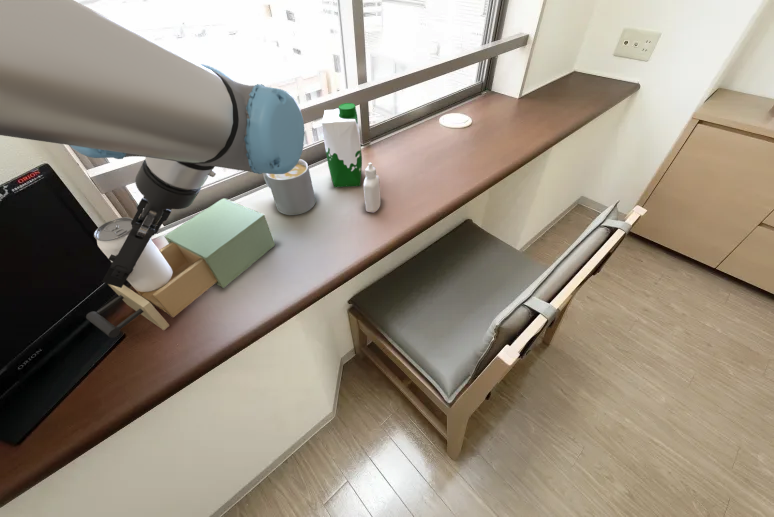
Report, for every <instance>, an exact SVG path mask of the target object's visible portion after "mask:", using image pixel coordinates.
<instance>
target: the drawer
mask: <svg viewBox="0 0 774 517" xmlns="http://www.w3.org/2000/svg"><path fill="white" fill-rule="evenodd" d="M158 250H159V251H160V253H161V254H162V255H163V257H164V258H165V260H166V261H167V263H168V264H169V266H170V267H171V269H172V271H173V274H172V277H171V279H170V281H169V282H168V283H167V284H166V285H164V286H163V287H161V288H160V289H157V290H155V291H151V292H140V291H137V290H136V289H135V288H134V287H133V289H134V290H135V291H136V292H135V291H134V290H132V289H131V288H129V286H126V285H125V284H123V286H122V288H120V287H116V286H113V285H110V284H107V285H108V287H110V288H111V289H112V290H113V292H114V293H115V294H116V295H118V296H116V297H115V298H114V299H112V300H111V301H109V302H108V303H106V304H105V305H103V307H101V308H99V309H98V310H97V311H93V310H92V311H90V312H88V313H87V314H86V316H85V318H86V320H88V321H89V322H90V324H92V325H94V326H95V327H96V328H97V329H99V330H100V331H101V332H102V333H104V334H105V335H106V336H107V337H108V338H111V339H112V338H116V337H118V336H119V335H120V333H121V330H122V329H123V328H124V327H126V326H127V325H128V324H130V323H131V322H133V320H135V319H136V318H138V317H139V316H140V315H141V316H142V317H143V318H145V319H146V320H149V322H151V323H152V324H154V325H155V326H157V327H158V328H160V329H161V330H162V331H165V330H166V329H167V328H169V327H170V324H169V323H168V321H167V320H166V319H165V318H164V317H163V315H161V313H160V312H159V311H158V310H157V309H156V308H158V309H159V310H161V311H163V312H164V313H166V314H168V316H170V317H171V318H175V317H176V316H177V315H179V314H180V313H181V312H182V311H183V310H184V309H186V308H187V307H188V306H190V305H191V304H192V303H193V302H194V301H196V300H197V299H199V298H200V296H202V295H203V294H204V293H205V292H207V291H208V290H209V289H211V287H213V286H214V285H216V284H215V283H216V282H218V281H217V279H216V278H215V276H214V274H213V273H212V271H211V269H210V267H209V266H208V264H207V262H206V261H205V259H203V258H201V257H199V256H197V255H195V254H194V253H192V252H190V251H188V250H186V249H184V248H182V247H180V246H178V245H176V244H175V243H173V242H171V243H167V244H166V245H165V246H163V247H161V248H160V249H158ZM121 301H123V302H124V304H126V305H127V306H128V307H130V308H131V309H133V310H134V311H135V312H133V313H132V314H131V315H129V316H128V317H126V319H124V320H122V321H121V322H120V323H119V324H117V325H114V323H111V322H110V321H109V320H108V319H106V318H105V317H104V316H102V314H104V313H105V312H106V311H108V310H109V309H111V308H113V307H114V306H115V305H117V304H118V303H120V302H121ZM155 307H156V308H155Z"/></svg>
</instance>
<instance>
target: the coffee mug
mask: <svg viewBox="0 0 774 517" xmlns="http://www.w3.org/2000/svg"><path fill="white" fill-rule="evenodd" d="M310 172H311V171H310V168H309V165H308V163H307V161H305V160H304V159H301V158H300V159H299V161H298V163H297V164H296V166H295V167H294V168H293V169H292V170H291V171H289V172H287V173H285V174H269V173H262V175H263V180H264V182H265V185H266V186H267V187H268V188H269V189H270V191H271V195H272V196H273V199H274V203H275V207H276V209H277V211H278V212H279V213H281V214H283V215H286V216H297V215H302V214H305V213H307V212H309V211H310V210H312V209H313V208H314V206H315V205H316V202H317V201H316V200H317V199H316V195H315V191H314V190H315V189H314V187H313V182H312V177H311V173H310Z"/></svg>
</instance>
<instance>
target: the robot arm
mask: <svg viewBox="0 0 774 517" xmlns="http://www.w3.org/2000/svg"><path fill="white" fill-rule="evenodd" d="M305 134H306V133H305V121H304V116H303V114H302V110H301V107H300V106H299V104H298V102H297V101H296V99H295V98H294V97H293V95H291V93H289V92H288V91H287V90H284V89H281V88H277V87H270V86H265V84H259V83H257V84H254V85H248V84H245V83H241V82H237V81H235V80H234V79H232V78H231V77H230V76H228V75H227V74H225V73H224V72H222V71H221V70H219V69H217V68H214V67H213V66H210V65H207V64H204V63H203V64H202V63H198V62H196V61H194V60H192V59H190V58H188V57H186V56H184V55H182V54H180V53H178V52H176V51H174V50H172V49H170V48H168V47H166V46H164V45H162V44H160V43H159V42H156V41H154V40H152V39H151V38H150V37H147V36H145V35H143V34H140V33H139V32H137V31H135V30H133V29H131V28H129V27H127V26H125V25H123V24H121V23H120V22H117V21H115V20H113V19H111V18H109V17H108V16H105V15H103V14H101V13H100V12H97V11H95V10H93V9H92V8H89V7H88V6H86V5H84V4H82V3H80V2H79V1H76V0H0V136H2V137H3V136H4V137H11V138H16V139H25V140H31V141H38V142H44V143H51V144H59V145H66V146H69V147H71V149H73V150H74V151H76V152H77V153H79V154H81V155H83V156H85V157H88V158H92V159H112V158H113V159H115V160H123V159H124V158H129V157H142V158H145V159H144V160H143V162H142V164H141V166H140V168H139V170H138V172H137V174H136V176H135V179H134V181H135V186H136V188H137V190H138V192H139V193H140V194H141V195H142V196H143V197H142V198H141V199H140V201H139V203H138V204H137V206H136V210H137V211H136V213H135V215H134V216H133V218H132V219H133V220H132V222H131V225H132V229H131V231H130V233H129V235H128V237H127V239H126V240H125V242H124V244H123V246H122V248H121V250H120V251H119V253H118V255H116V256H115V255H112V254H111V256H110V257H109V259H108V258H107V259H108V261H110V266H109V268H108V269H107V272H106V273H105V275H104V277H103V279H102V281H101V282H102V283H104V284H107V285H108V284H110V285H113V286H116V287H120V288H122V286H123V285H125V283H126V281H127V278H128V276H129V274H130V273H131V272H132V271H133V268H134V266H135V265H136V262H137V260H138V259H139V257H140V255H141V254H142V252H143V250H144V248H145V247H146V245H147V243H148V242H149V240H150V238H151V239H152V237H153V236H155V235H157V233H159V230H160V228H162V227H161V226H162V225H163V224H164V222H166V221H167V220H168V219H169V217H170V216H171V213H172V210H183V209H187V208H189V207H190V206H191V205H192V204H193V202H194V201H195V199H196V198H197V196H198V194H199V193H200V191H201V190H202V187H203V186H204V185H205V182H206V181H207V179H209V177H212V178H214V177H215V176H216V175H217V172H216V170H214V168H216V167H217V168H223V169H228V170H229V169H230V170H236V171H243V172H247V173H248V172H249V173H252V174H258V175H263V173H269V174H285V173H287V172H289V171H291V170H292V169H293V168H294V167H295V166H296V164H297V163H298V161H299V159H301V156H302V154H303V150H304V146H305V144H304V142H305ZM111 261H113V262H111Z"/></svg>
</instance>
